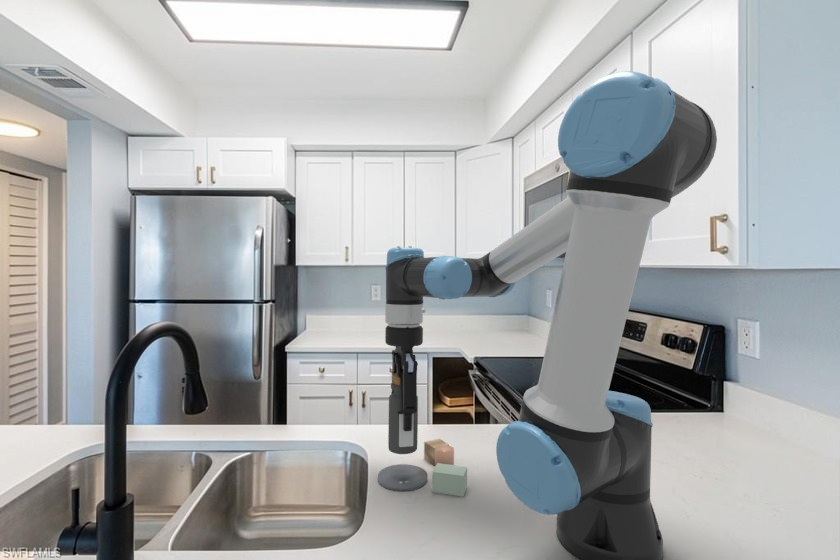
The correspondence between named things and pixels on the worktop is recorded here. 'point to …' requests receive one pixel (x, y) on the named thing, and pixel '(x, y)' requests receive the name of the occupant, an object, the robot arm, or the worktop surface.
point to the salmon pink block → (444, 454)
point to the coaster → (402, 477)
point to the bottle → (394, 421)
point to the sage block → (449, 479)
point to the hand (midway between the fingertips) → (402, 439)
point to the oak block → (432, 449)
